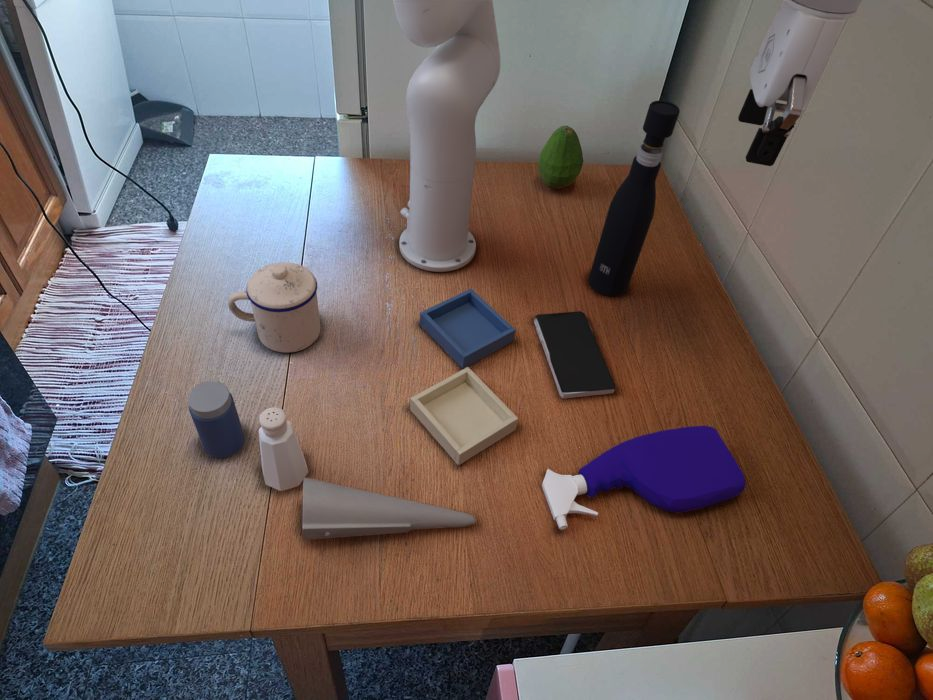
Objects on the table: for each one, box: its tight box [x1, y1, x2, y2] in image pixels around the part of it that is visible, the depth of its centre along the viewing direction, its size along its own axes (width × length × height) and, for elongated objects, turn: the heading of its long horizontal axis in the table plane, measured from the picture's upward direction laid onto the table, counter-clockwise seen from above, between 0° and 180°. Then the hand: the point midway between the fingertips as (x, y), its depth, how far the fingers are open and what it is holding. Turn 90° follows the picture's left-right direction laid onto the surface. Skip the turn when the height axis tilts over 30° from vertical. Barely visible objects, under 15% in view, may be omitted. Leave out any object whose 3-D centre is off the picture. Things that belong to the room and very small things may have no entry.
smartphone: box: [533, 310, 616, 399], centre depth 93 cm, size 8×1×15 cm
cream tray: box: [409, 366, 519, 466], centre depth 83 cm, size 10×9×2 cm
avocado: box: [538, 125, 584, 189], centre depth 118 cm, size 8×8×12 cm
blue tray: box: [419, 288, 517, 370], centre depth 93 cm, size 10×9×2 cm
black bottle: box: [587, 100, 681, 297], centre depth 93 cm, size 6×6×30 cm
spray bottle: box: [541, 425, 747, 531], centre depth 78 cm, size 3×11×24 cm
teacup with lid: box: [227, 261, 322, 354], centre depth 87 cm, size 12×9×12 cm
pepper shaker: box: [187, 380, 246, 459], centre depth 75 cm, size 5×5×9 cm
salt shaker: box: [258, 407, 309, 492], centre depth 72 cm, size 5×5×11 cm
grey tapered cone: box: [301, 477, 477, 541], centre depth 73 cm, size 6×6×19 cm
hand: (754, 141), depth 78 cm, fingers open, 9 cm apart
